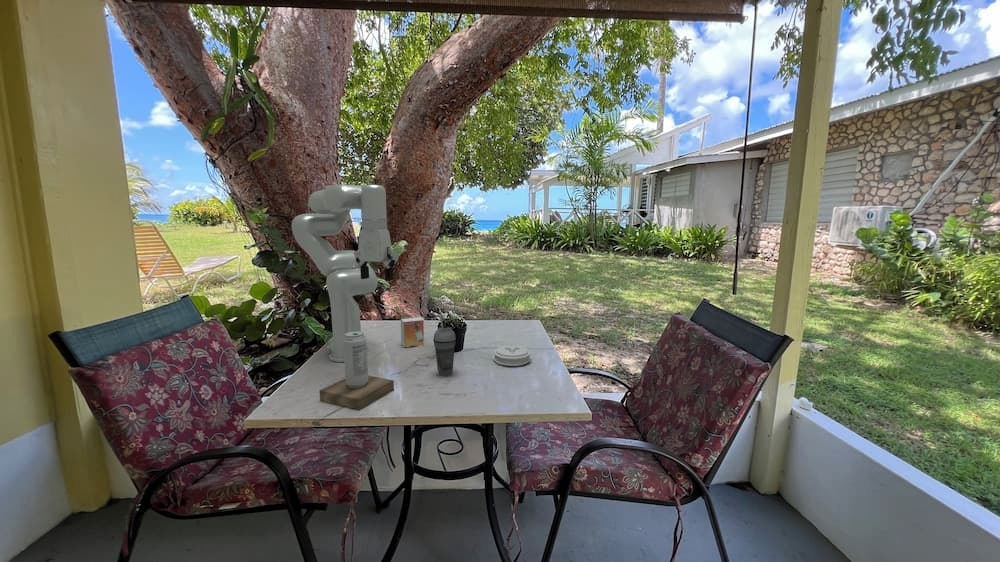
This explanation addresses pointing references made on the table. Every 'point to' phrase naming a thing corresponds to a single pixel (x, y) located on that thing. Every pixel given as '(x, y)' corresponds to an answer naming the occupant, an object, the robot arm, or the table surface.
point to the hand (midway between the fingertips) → (376, 279)
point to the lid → (512, 355)
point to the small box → (412, 332)
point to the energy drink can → (355, 359)
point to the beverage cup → (444, 349)
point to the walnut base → (357, 392)
